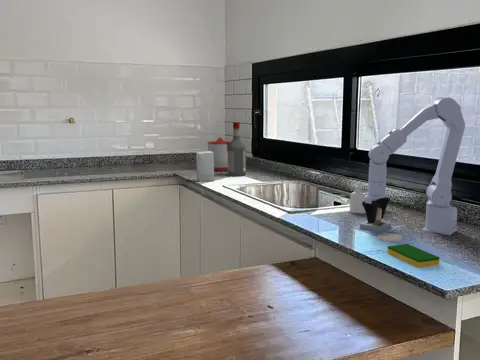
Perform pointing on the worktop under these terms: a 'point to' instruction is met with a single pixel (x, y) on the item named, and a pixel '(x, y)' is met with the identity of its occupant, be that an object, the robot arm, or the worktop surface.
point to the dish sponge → (413, 255)
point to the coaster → (390, 237)
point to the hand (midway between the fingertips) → (375, 220)
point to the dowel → (378, 217)
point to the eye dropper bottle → (357, 200)
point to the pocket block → (376, 227)
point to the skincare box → (205, 166)
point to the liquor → (236, 154)
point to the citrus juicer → (219, 154)
